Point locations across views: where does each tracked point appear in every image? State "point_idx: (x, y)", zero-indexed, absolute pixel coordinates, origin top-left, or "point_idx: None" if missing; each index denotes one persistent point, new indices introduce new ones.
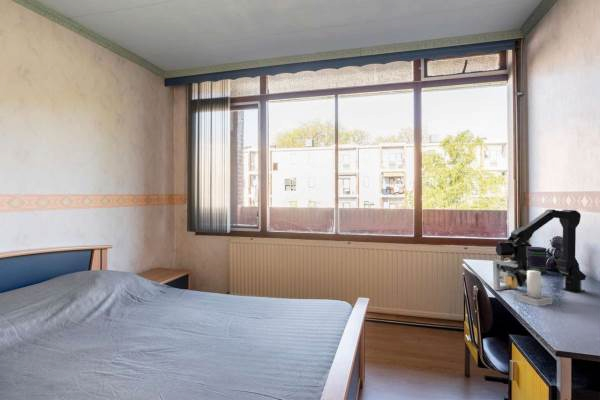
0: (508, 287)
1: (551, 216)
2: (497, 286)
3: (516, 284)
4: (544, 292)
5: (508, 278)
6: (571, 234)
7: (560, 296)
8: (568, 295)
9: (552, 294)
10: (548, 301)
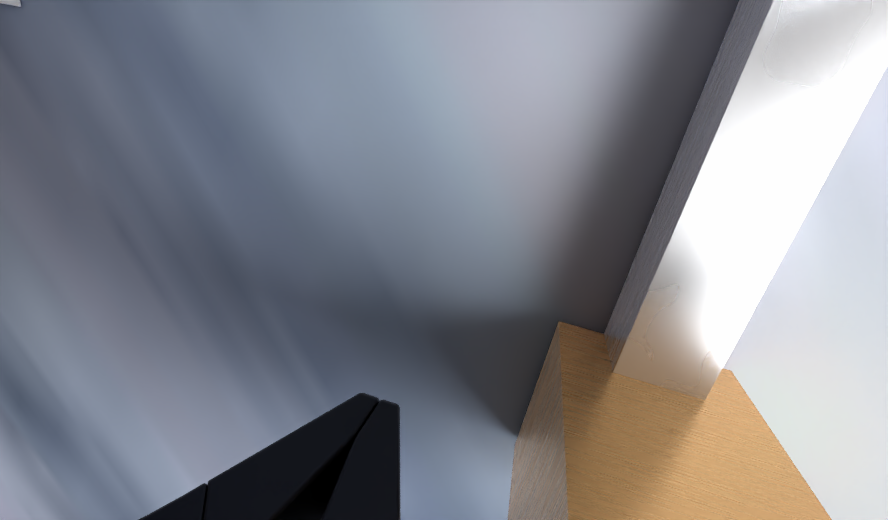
0: (628, 299)
1: None
2: None
3: (512, 497)
4: (180, 477)
5: None
6: None
7: (4, 420)
8: (19, 512)
9: (87, 447)
10: None
